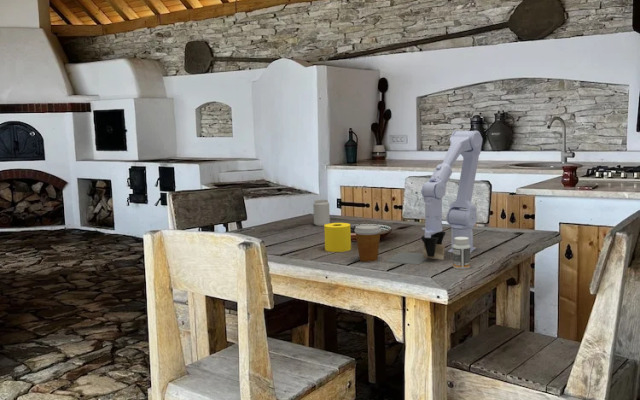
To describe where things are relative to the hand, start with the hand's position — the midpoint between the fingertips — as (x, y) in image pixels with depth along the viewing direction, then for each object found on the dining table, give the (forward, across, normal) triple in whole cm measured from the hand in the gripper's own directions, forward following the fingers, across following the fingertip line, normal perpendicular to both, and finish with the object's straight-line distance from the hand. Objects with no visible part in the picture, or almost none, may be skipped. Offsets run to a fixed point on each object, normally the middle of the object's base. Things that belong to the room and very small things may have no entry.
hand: (433, 254), depth 215 cm
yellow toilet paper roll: (+2, -4, -39) cm, 39 cm away
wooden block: (+1, 0, 0) cm, 1 cm away
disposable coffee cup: (+2, +9, -21) cm, 23 cm away
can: (+2, -50, -69) cm, 85 cm away
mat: (+2, +3, -8) cm, 9 cm away
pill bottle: (+2, +9, +12) cm, 15 cm away
